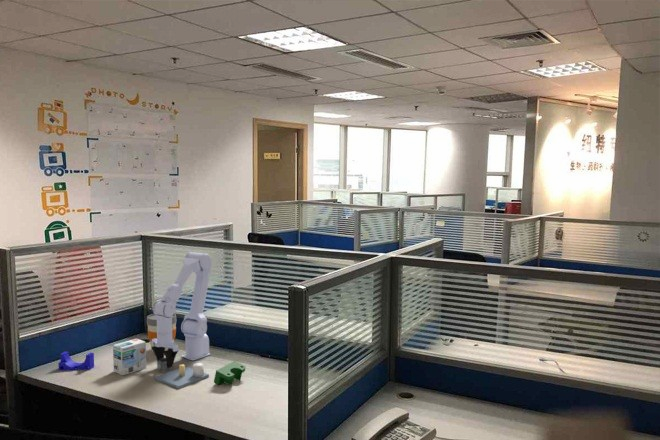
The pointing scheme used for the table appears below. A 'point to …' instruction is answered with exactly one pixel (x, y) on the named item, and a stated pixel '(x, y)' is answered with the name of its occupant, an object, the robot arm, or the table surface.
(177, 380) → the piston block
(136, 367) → the light bulb box
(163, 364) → the ring
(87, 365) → the cable clip
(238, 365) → the clamp
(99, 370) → the table surface
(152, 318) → the reusable coffee cup
